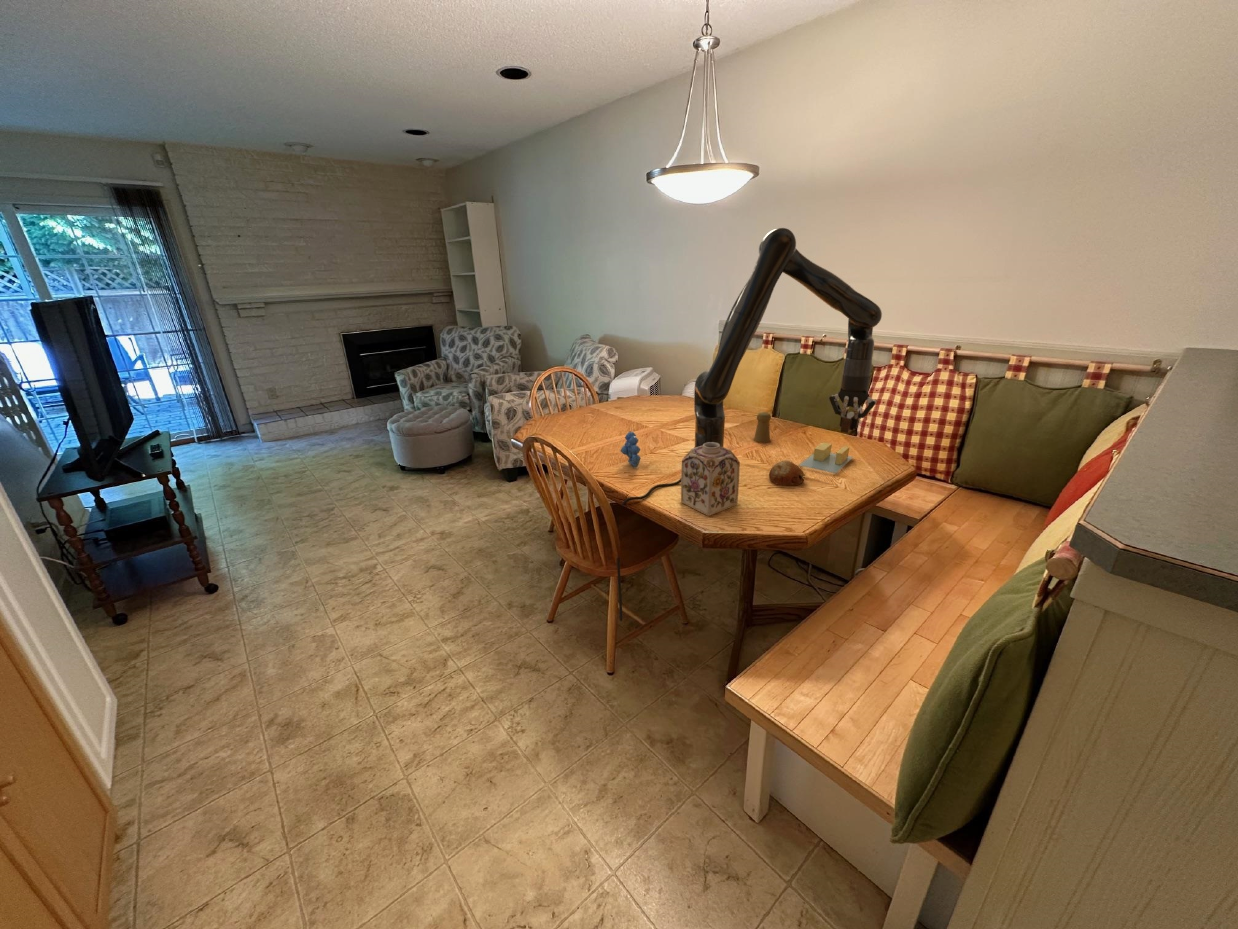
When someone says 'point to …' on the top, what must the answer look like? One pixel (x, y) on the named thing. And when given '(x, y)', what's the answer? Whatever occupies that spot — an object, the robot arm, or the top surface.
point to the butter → (822, 451)
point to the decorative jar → (710, 478)
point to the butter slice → (842, 455)
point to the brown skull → (786, 474)
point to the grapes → (631, 449)
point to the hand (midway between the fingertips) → (848, 428)
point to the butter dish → (824, 463)
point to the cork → (762, 428)
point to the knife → (848, 422)
